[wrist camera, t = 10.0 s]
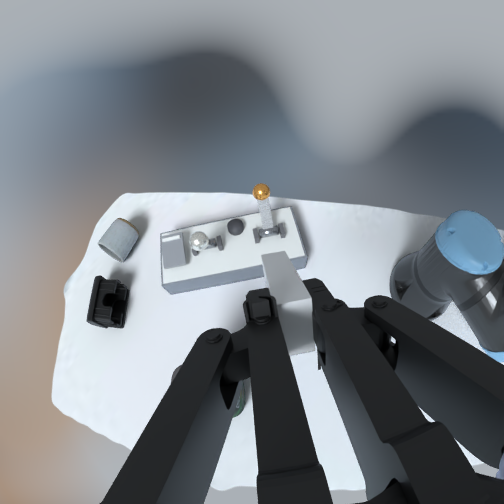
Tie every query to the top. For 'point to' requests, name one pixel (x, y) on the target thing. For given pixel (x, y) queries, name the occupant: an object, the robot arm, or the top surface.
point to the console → (233, 251)
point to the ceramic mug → (119, 239)
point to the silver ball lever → (201, 241)
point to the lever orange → (265, 211)
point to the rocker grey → (173, 250)
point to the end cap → (108, 303)
